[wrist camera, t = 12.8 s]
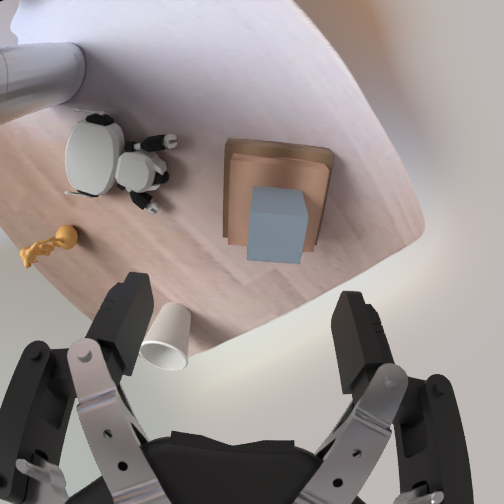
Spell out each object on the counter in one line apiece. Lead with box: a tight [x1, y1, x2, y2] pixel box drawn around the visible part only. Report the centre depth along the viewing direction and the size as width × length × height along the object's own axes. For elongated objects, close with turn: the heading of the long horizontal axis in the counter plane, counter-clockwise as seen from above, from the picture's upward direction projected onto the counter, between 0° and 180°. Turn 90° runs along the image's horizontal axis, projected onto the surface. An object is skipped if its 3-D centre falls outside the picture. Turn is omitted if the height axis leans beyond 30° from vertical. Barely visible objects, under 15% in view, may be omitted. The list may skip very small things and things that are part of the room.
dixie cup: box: [139, 302, 191, 371], centre depth 45 cm, size 8×8×10 cm
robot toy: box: [65, 109, 178, 214], centre depth 32 cm, size 12×4×15 cm
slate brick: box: [247, 186, 309, 264], centre depth 28 cm, size 5×5×6 cm
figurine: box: [20, 225, 78, 268], centre depth 35 cm, size 8×6×12 cm
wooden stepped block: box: [223, 139, 334, 252], centre depth 32 cm, size 12×12×6 cm
